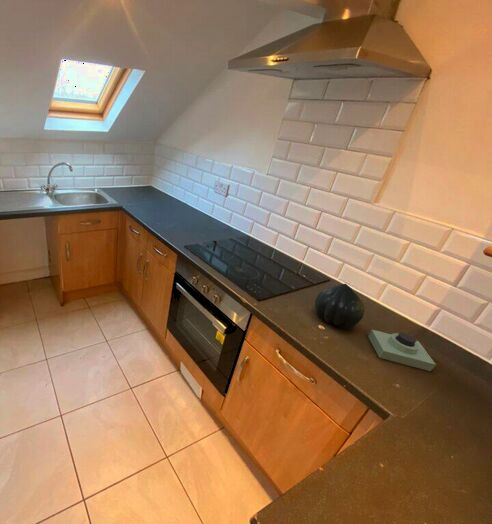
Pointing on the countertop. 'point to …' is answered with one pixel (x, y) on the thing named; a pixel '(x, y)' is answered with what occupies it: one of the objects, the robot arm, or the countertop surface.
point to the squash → (339, 306)
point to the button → (406, 339)
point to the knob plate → (400, 351)
